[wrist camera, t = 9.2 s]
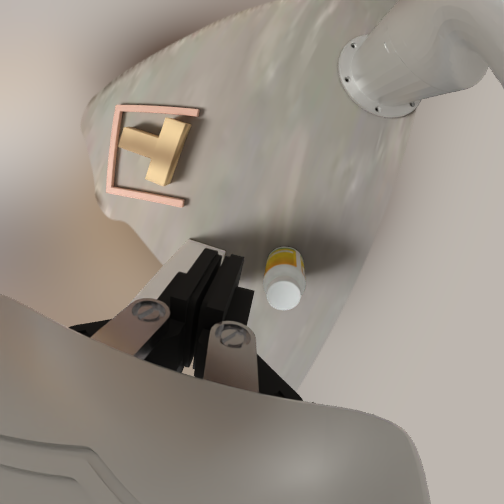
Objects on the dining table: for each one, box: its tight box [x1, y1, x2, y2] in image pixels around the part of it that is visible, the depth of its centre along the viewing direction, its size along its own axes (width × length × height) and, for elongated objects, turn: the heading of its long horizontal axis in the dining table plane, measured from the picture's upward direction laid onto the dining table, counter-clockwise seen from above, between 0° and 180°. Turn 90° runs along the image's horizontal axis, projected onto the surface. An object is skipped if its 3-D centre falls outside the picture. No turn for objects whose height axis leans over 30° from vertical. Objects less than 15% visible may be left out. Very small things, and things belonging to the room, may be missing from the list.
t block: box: [118, 118, 191, 186], centre depth 35 cm, size 9×9×2 cm
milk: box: [130, 239, 226, 304], centre depth 32 cm, size 6×6×22 cm
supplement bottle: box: [263, 247, 306, 310], centre depth 36 cm, size 5×5×10 cm
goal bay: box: [106, 105, 200, 207], centre depth 36 cm, size 14×14×1 cm
